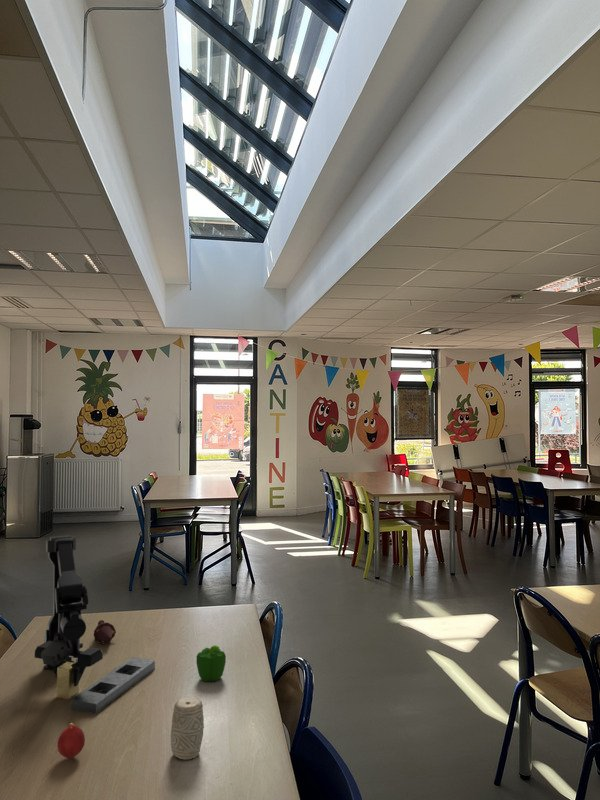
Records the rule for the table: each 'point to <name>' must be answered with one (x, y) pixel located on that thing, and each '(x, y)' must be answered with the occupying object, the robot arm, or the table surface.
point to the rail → (112, 685)
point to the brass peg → (66, 681)
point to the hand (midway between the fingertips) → (67, 684)
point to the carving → (187, 728)
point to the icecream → (104, 632)
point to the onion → (71, 741)
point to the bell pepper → (211, 663)
